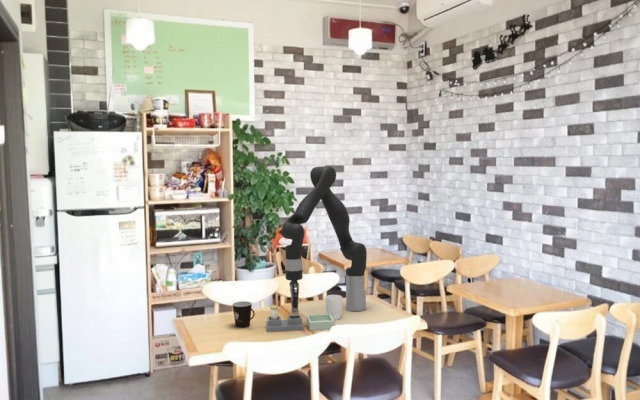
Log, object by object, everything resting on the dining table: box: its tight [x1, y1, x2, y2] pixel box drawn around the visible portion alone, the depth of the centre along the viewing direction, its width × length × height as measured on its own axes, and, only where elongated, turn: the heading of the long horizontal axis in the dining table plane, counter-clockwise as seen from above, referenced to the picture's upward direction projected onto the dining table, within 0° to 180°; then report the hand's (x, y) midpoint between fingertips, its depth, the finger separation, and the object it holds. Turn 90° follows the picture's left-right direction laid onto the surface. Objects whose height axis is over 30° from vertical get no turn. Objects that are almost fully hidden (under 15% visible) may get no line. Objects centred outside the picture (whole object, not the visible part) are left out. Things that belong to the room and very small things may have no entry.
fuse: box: [269, 304, 279, 320], centre depth 231 cm, size 3×3×8 cm
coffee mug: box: [232, 300, 256, 329], centre depth 234 cm, size 12×9×10 cm
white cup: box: [324, 294, 343, 321], centre depth 245 cm, size 8×8×10 cm
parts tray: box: [306, 313, 336, 331], centre depth 234 cm, size 11×11×4 cm
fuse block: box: [265, 314, 305, 333], centre depth 232 cm, size 16×9×4 cm, turn 99°
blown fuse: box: [290, 294, 300, 315], centre depth 232 cm, size 3×3×8 cm
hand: (294, 306), depth 232 cm, fingers closed on blown fuse, 3 cm apart
